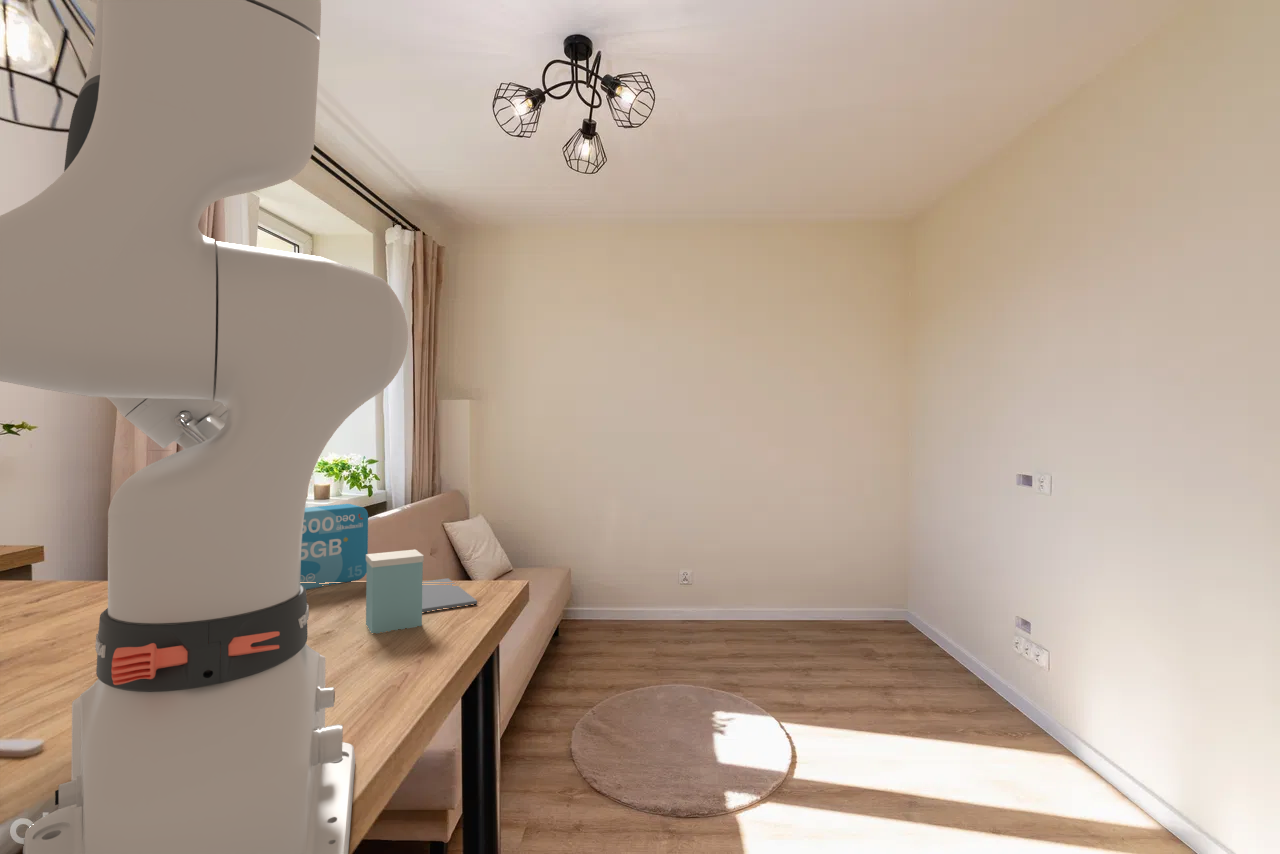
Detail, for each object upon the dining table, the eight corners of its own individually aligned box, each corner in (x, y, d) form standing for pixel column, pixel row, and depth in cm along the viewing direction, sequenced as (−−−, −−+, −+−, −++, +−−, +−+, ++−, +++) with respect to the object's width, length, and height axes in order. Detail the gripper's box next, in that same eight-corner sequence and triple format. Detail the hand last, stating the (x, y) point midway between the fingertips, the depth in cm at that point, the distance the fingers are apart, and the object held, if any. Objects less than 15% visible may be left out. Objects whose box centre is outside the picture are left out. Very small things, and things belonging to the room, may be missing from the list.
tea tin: (422, 626, 80) (423, 555, 80) (371, 634, 77) (372, 561, 77) (414, 616, 84) (415, 549, 84) (364, 624, 80) (365, 554, 80)
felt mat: (477, 604, 89) (477, 600, 89) (388, 618, 83) (388, 613, 83) (448, 581, 101) (448, 578, 101) (368, 592, 94) (368, 588, 94)
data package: (288, 593, 93) (289, 513, 93) (277, 587, 96) (278, 509, 96) (367, 578, 102) (368, 505, 102) (355, 573, 105) (356, 502, 105)
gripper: (201, 395, 60) (313, 491, 66) (218, 386, 78) (305, 463, 83) (142, 440, 58) (263, 536, 64) (174, 421, 76) (266, 497, 81)
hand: (287, 494), depth 74 cm, fingers open, 8 cm apart
